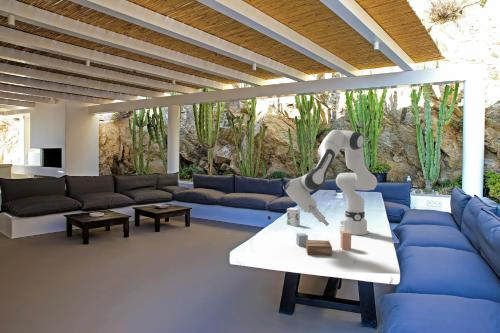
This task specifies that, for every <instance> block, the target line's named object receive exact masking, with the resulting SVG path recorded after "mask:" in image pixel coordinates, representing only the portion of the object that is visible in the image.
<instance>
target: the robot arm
mask: <svg viewBox="0 0 500 333" xmlns="http://www.w3.org/2000/svg"><path fill="white" fill-rule="evenodd" d="M364 138H365V137H364V136H363V134H362V133H361V132H359V131H352V130H345V129H344V130H339V129H332V130H331V131H329V133H328V134H326V136H325V137H324V138H323V140H322V141H321V144H320V145H319V147H318V150H317V154H318V156H319V158H320V159H319V161H318V163H317V165H316V166H315V168H314V169H313V170H311V171H310V172H308V173H306V174H304V175H302V176H299V177H296V178H291V179H290V180H288V181H287V183H286V184H285V186H284V191H285V192H286V194H287V195H288V197H289V198H290V199H291V201H293V202H295V204H296V205H297V207H299V209H301V211H303V212H304V213H308V214H312V216H314V218H315V219H317V221H318V222H319V223H323V224H324V225H325V226H326V227H328V226H329V225H330V223H329V222H328V221H327V219H326V216H324V214H323V213H322V212H321V211H320V210H319V208H318V207H317V206H318V205H317V200H316V199H315V198H314V197H313V196H312V195H311V194H310V193H311V192H314V191H318V190H321V189H322V188H323V187H324V185H325V183H326V177H327V173H328V171H329V170H330V167H331V165H332V164H333V162H334V160H335V158H336V157H337V156H338V154H339V152H340V151H341V149H343V150H344V158H345V159H344V160H345V166H346V167H347V169H348V170H351V171H352V172H339V173H338V174H337V176H336V178H335V184H336V186H337V187H338V188H339V189H340V190H341V191H342V192H343V194H344V196H345V201H346V203H345V204H346V207H345V208H346V210H345V213H344V215H345V216H344V218H343V220H340V225H341V226H339V227H338V229H339V233H341V231H349V232H351V236H352V235H353V236H363V235H367V234H370V231H369V230H368V221H367V219H366V213H365V199H364V198H363V196H361V195H359V194H357V193H356V191H373V190H375V189H376V187H377V186H378V179H377V177H376V176H375V175H374V174H373V173H371V172H370V171H369V169H368V168H367V166H366V164H365V158H364V157H365V156H364V155H365V154H364V147H363V145H364V143H365V139H364Z"/></svg>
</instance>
